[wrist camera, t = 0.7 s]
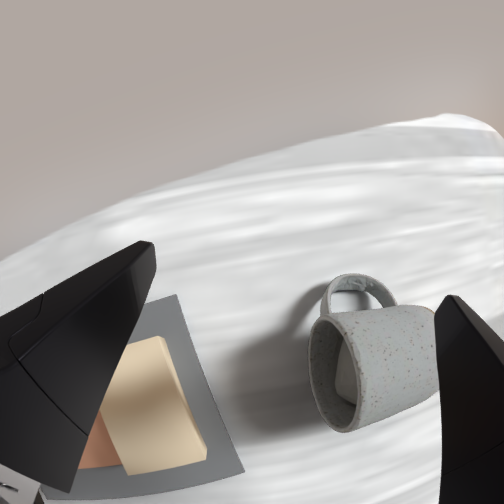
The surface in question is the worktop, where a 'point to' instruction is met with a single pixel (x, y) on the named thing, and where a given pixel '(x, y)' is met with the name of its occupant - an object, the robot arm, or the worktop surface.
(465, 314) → the robot arm
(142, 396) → the card box
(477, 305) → the worktop surface
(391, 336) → the ceramic mug
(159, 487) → the mat
